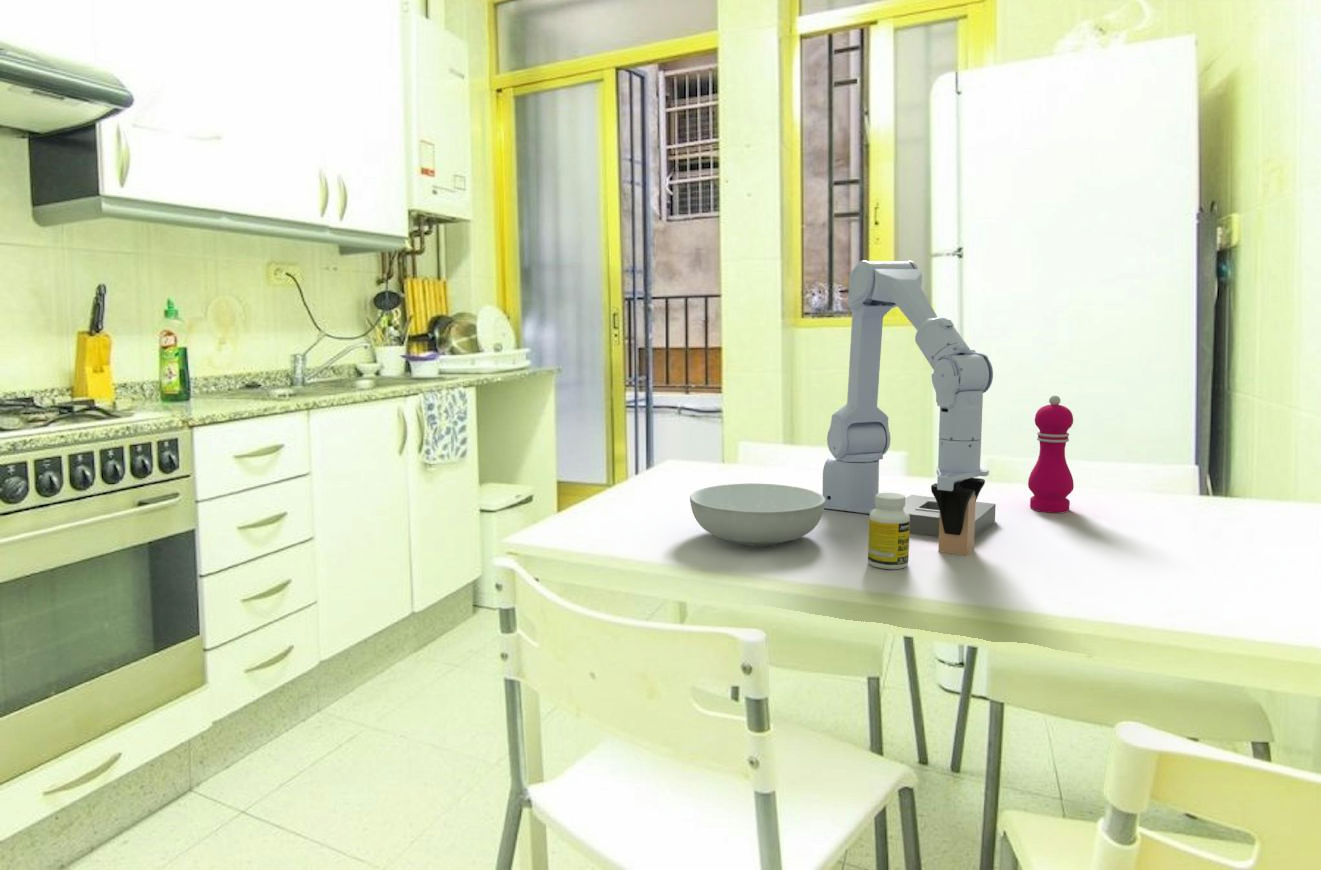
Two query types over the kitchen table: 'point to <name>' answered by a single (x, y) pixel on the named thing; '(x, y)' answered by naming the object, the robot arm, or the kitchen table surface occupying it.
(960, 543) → the plug
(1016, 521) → the kitchen table surface
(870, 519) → the supplement bottle
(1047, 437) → the pepper mill
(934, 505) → the socket block
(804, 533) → the serving bowl
